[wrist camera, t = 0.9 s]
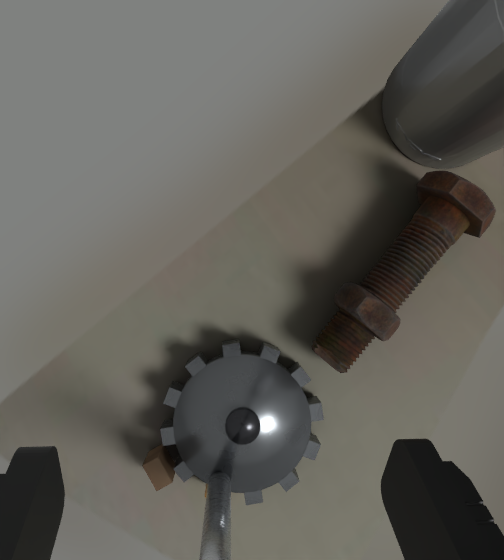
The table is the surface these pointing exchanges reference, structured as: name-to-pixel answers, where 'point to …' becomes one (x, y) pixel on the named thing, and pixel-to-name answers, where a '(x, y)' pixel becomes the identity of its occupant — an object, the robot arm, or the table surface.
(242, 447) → the sprocket
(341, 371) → the bolt
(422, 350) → the table surface
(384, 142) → the table surface
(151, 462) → the brown block
